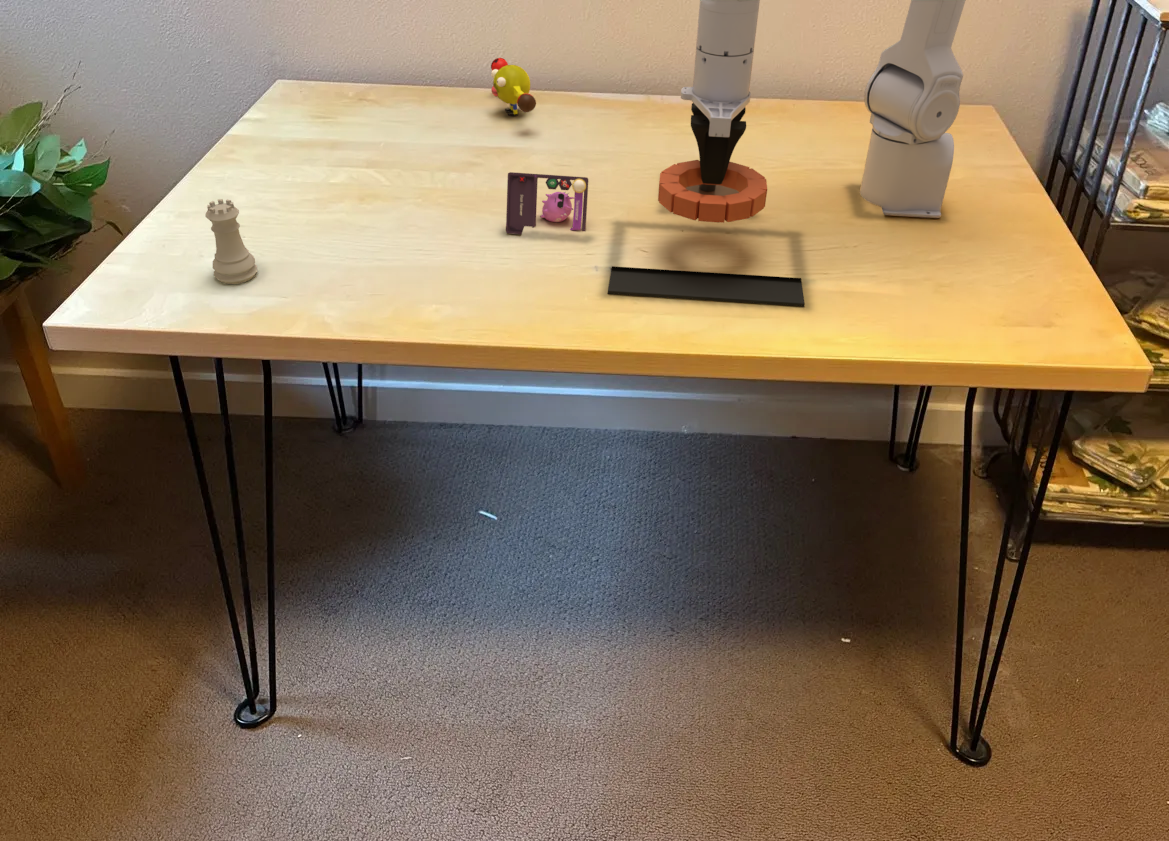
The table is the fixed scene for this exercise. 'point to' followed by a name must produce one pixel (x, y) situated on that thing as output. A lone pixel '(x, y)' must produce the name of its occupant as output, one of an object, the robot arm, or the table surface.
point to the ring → (712, 206)
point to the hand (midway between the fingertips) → (712, 177)
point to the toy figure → (512, 86)
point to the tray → (706, 286)
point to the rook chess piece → (229, 245)
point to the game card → (554, 208)
